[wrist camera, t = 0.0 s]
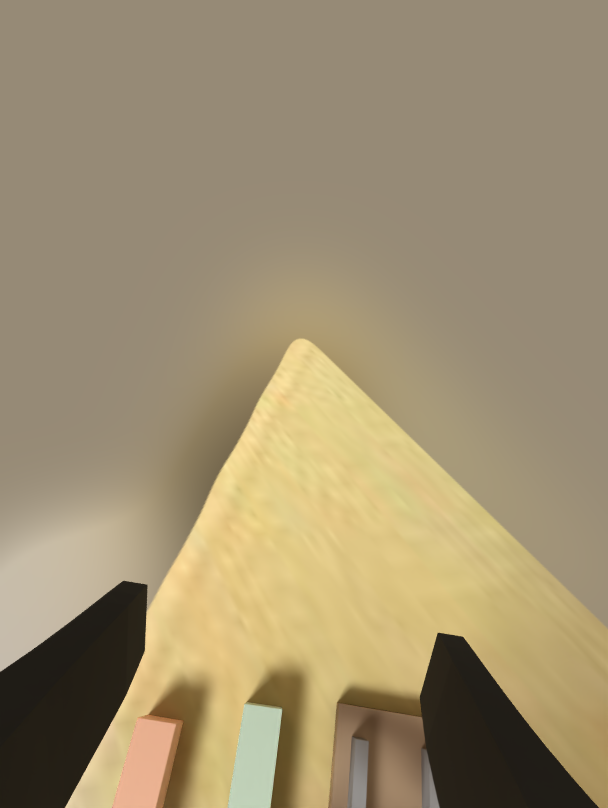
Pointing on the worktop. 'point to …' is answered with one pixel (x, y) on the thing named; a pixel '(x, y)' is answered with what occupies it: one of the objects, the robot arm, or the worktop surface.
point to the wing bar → (148, 763)
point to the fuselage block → (255, 757)
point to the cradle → (380, 761)
